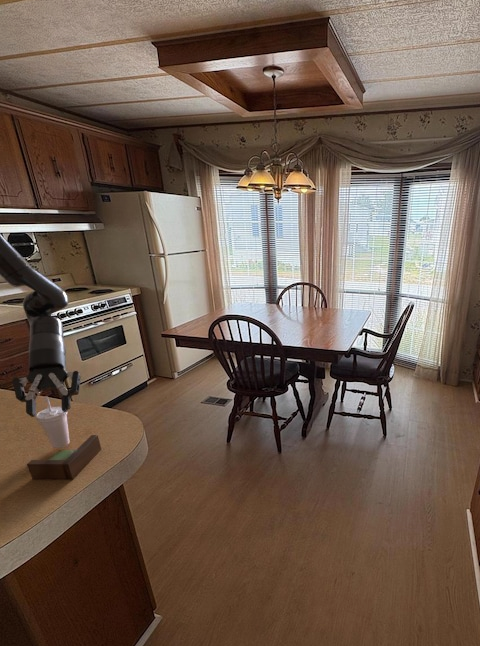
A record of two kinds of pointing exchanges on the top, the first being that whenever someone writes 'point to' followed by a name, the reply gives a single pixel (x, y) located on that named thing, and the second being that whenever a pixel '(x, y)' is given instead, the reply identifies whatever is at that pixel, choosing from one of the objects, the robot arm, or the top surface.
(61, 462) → the corner guide
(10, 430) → the top surface
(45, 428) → the smoothie
